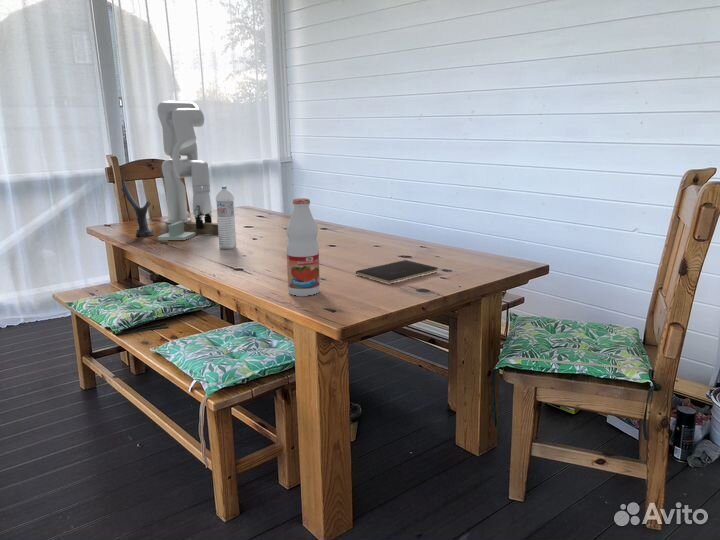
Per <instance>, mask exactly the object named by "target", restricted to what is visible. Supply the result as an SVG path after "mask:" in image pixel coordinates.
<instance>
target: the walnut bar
mask: <svg viewBox="0 0 720 540" xmlns="http://www.w3.org/2000/svg"><path fill="white" fill-rule="evenodd" d="M184 228H185V232H196V235H203V234H209V235H210V236H218V222H212V223H205V222H203V229H196V221H193V222H192V221H190V222H186V223H184Z"/></svg>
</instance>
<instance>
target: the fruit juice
mask: <svg viewBox="0 0 720 540" xmlns="http://www.w3.org/2000/svg"><path fill="white" fill-rule="evenodd" d="M292 205H293V211H292V214H291V217H290V220H289V222H288V224H287V225H286V236H287V238H288V241H287V244H286V267H287V269H286V270H287V289H288V293H289V295H291V294H292V295H291V296H294V295H296V296H295V297H309V296H308V295H312V296H314V295H313V294H315V295H317V294H319V293H318V292H320V290H321V288H320V287H321V286H320V283H321V282H320V250H319V249H320V247H319V242H318V240H317V237H318V234H319V233H318V232H319V230H318V229H319V228H318V225H317V223H316V221H315V219H314V217H313V215H312V212H311V211H312V210H311V208H310V205H311V200H310V199H309V198H294V199H292ZM316 293H317V294H316Z"/></svg>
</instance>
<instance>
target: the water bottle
mask: <svg viewBox="0 0 720 540" xmlns="http://www.w3.org/2000/svg"><path fill="white" fill-rule="evenodd" d="M234 198H235V197H234V195H233V194H232V193H231V192H230V191H229V190H227V185H222V186H221V190H220V191H219V192H218V193H217V195H216V196H215V201H216V202H215V203H216V215H217V217H216V218H217V220H216V221H217V223H218V235H217V236H218V247H219V249H220V250H222V249H231V250H235V249H236V248H237V236H236V235H237V233H236V219H235V217H236V216H235V208H234V207H235V204H234V201H235V200H234ZM234 248H235V249H234Z"/></svg>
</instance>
